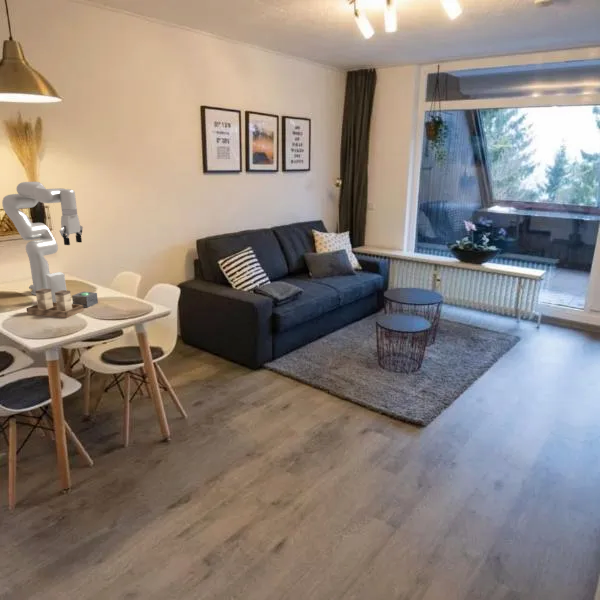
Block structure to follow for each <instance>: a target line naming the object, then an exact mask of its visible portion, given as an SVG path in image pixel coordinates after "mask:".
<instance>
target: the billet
mask: <svg viewBox="0 0 600 600" xmlns="http://www.w3.org/2000/svg"><path fill="white" fill-rule="evenodd" d="M66 290H67V289H66ZM66 290H61V291H58V292H55V297H56V304H57V311H68V310H71V309H72V304H73V302H72V295H71V290H67V291H66Z"/></svg>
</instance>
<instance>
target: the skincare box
mask: <svg viewBox="0 0 600 600" xmlns="http://www.w3.org/2000/svg"><path fill="white" fill-rule="evenodd" d="M46 279H47V285H48V289H51V294H52V302H56V297H55V292H58V291H61V290H66V291H68V290H67V285H66V284H67V282H66V277H65V273H63V272H62V271H57V272H53V273H50V274H46Z"/></svg>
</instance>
